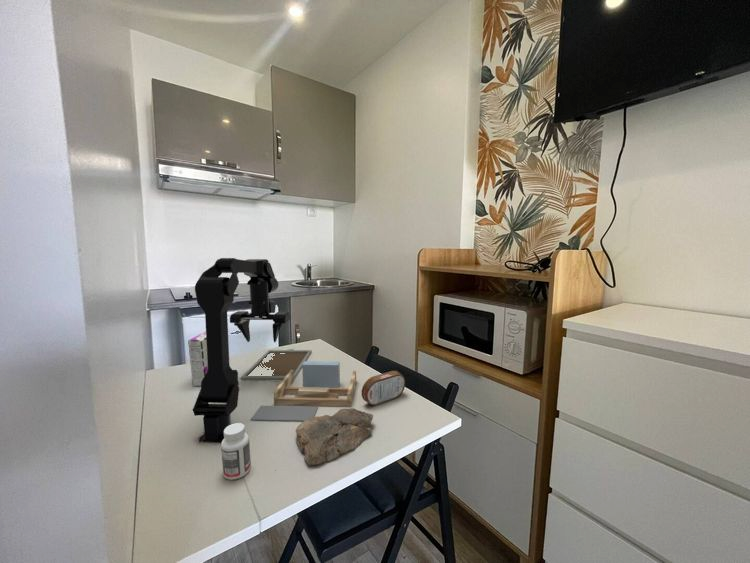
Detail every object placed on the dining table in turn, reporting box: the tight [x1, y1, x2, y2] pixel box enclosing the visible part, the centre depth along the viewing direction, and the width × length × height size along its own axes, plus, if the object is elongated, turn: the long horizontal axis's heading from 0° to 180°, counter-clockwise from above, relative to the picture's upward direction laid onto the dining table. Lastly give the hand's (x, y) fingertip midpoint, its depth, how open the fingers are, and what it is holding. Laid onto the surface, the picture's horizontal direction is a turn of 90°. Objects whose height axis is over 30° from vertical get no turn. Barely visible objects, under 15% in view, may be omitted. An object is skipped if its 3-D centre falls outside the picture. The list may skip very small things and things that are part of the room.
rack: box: [272, 370, 357, 408], centre depth 97 cm, size 16×23×4 cm
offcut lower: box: [293, 392, 339, 398], centre depth 93 cm, size 3×13×2 cm, turn 87°
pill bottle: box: [220, 422, 252, 481], centre depth 64 cm, size 5×5×10 cm
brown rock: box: [295, 407, 374, 467], centre depth 75 cm, size 14×5×20 cm
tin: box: [361, 370, 406, 406], centre depth 92 cm, size 15×3×8 cm, turn 123°
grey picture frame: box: [239, 348, 312, 382], centre depth 121 cm, size 19×2×30 cm
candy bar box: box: [187, 331, 208, 387], centre depth 106 cm, size 11×5×16 cm, turn 179°
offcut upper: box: [298, 386, 329, 397], centre depth 93 cm, size 3×9×2 cm, turn 86°
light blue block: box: [301, 360, 341, 388], centre depth 102 cm, size 3×12×8 cm, turn 87°
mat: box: [250, 405, 319, 423], centre depth 85 cm, size 7×17×1 cm, turn 87°
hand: (261, 341), depth 103 cm, fingers open, 9 cm apart
